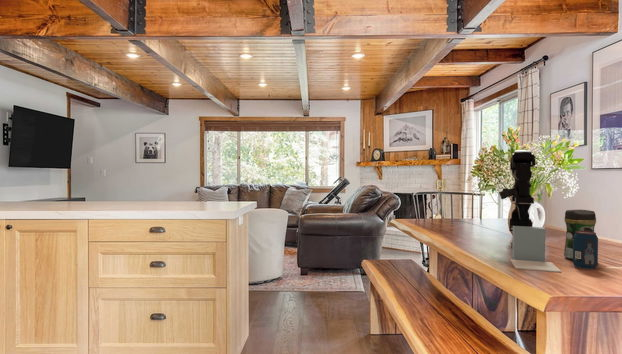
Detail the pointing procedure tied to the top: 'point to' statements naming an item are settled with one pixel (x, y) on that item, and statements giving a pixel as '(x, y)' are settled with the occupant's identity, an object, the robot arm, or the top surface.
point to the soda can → (585, 250)
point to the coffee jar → (577, 227)
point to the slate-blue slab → (528, 243)
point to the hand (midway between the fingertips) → (521, 220)
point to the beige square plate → (535, 265)
